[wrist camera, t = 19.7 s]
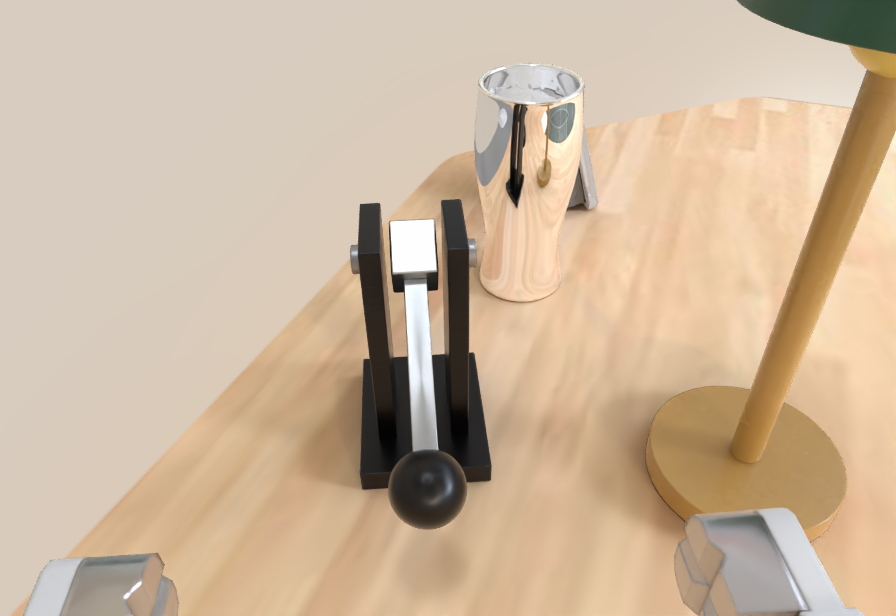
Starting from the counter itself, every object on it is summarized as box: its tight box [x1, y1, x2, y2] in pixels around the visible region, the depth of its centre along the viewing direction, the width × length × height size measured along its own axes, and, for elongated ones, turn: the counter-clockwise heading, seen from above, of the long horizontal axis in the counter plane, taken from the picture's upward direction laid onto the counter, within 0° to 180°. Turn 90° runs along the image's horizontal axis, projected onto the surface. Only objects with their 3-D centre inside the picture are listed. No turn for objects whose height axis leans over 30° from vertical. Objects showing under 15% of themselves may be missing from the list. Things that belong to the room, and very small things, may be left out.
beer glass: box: [474, 63, 585, 302], centre depth 48 cm, size 7×7×15 cm
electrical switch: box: [567, 123, 598, 210], centre depth 60 cm, size 9×5×9 cm, turn 15°
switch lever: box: [388, 219, 467, 530], centre depth 32 cm, size 14×3×3 cm, turn 5°
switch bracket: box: [350, 199, 491, 489], centre depth 37 cm, size 9×7×14 cm
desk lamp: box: [646, 0, 896, 542], centre depth 29 cm, size 12×12×32 cm
